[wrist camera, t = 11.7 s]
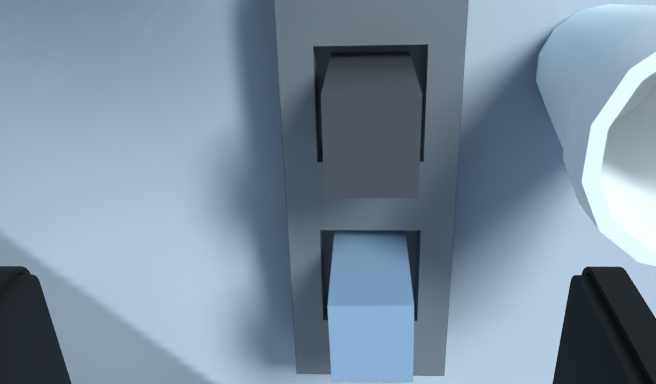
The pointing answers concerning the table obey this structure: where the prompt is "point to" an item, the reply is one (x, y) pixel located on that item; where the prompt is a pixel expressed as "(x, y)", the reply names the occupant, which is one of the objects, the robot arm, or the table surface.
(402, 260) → the block
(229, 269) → the table surface
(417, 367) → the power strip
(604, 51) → the foam cup
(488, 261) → the table surface
